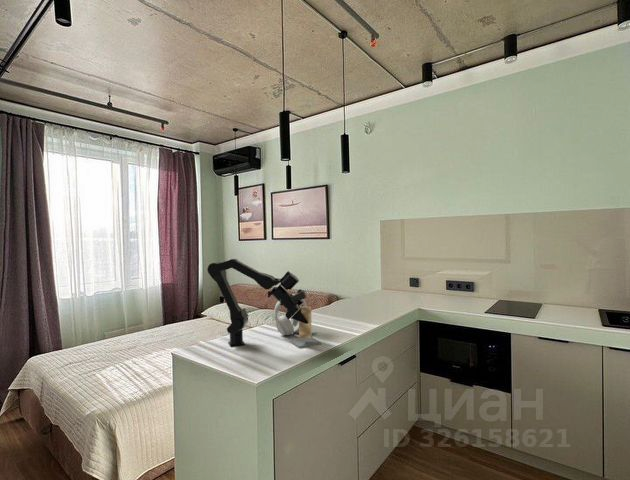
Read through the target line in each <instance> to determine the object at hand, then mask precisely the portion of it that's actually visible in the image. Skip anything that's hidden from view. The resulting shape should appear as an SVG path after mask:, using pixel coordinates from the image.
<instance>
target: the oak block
mask: <svg viewBox="0 0 630 480" xmlns="http://www.w3.org/2000/svg"><path fill="white" fill-rule="evenodd" d="M300 308H301V313H302V314H303V315H304V317H305V318H306V319H307V321H308V323H307V324H305V323H303V322H300V321H299V333H298V337H299V338H311V337H313V336H312V333H313V332H312V331H313V329H312V328H313V327H312V326H313V325H312V306H307V307H300ZM300 308H299V309H300Z"/></svg>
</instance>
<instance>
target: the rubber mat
mask: <svg viewBox="0 0 630 480" xmlns="http://www.w3.org/2000/svg"><path fill="white" fill-rule="evenodd" d="M289 343H291V344H292V345H294V346H295V347H297V348H298V349H301V348H307V347H308V348H309V347H314V346H318V344H320V345H322V341H320V340H318V339H316V338H314V337H313V336H311V338H291V339H289Z"/></svg>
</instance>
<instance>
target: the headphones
mask: <svg viewBox="0 0 630 480" xmlns="http://www.w3.org/2000/svg"><path fill="white" fill-rule="evenodd" d="M291 294H292V295H295V294H296V293H291ZM302 300H303V301H304V302H303V303H302V304H304V306H303V307H308V306H307V302H306V301H305V299H302ZM280 304H281V303H280V302H279V301H278V300H277V302H276V304H275V306H274V311H273V317H274V321H275V327H276V330H277V331H278V333H279V334H280V335H282V336H285V335H286V336H290V335H292V334H293V333H294V334H299V321H297V320H294V319H291V318H290V319H288V318H287V317H286V315H285V314H283V315H279V316H278V313H279V312H280V311H281V308H282V307H283V305H282V306H281V305H280ZM302 304H301V306H302Z"/></svg>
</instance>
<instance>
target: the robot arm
mask: <svg viewBox="0 0 630 480" xmlns="http://www.w3.org/2000/svg"><path fill="white" fill-rule="evenodd" d="M230 269H233V270H235V271H237V272H239V273H241V274H243V275H244V276H246V277H248V278H251V279H252V280H254V282H256V284H257V285H259V286H260V287H261V288H262V289H264V290H268V291H267V298H270V297H271V296H273V297H274V299H276V301H277V302H278V301H279V302H280V303H281V304H280V305H281V306H282V307H284V308H285V309H286V312H285V316H286V317H287V318H288V319H289V320H291V319H294V320H297V321H300V322H303V323H305V324H307V323H308V321H307V319H306V318H305V317H304V315H303V314H302V313H301V308H300V307H303V306H304V304H302V303H303V302H304V301H303V300H302V299H304V300H305V299H306V298H307V297H308V295H307V293H306V291H305V290H303V289H301V288H300V289H298V290H297V293H294V294H295V295H292V294H293V293H289V292H288V290H289V291H291V290H292V289H293V288H294V287H295V286H297V284H298V283H299V282H300V279H299V278H298V277H297V276H296V275H295V274H293V273H291V272H290V271H289V270H287V272H285V274H284V275H283V276H282V277H281V278H277V277H275V276H273V275H271V274H268V273H264V272H261V271H258V270H256V269H255V268H253V267H251V266H249V265H247V264H245V263H243V262H241V261H240V260H238V259H237V258H230V259H229V260H225V261H222V262H220V261H216V262H211V263H210V264H209V265H208V266H207V273H208V275H209V276H210V278H211V279H212V280H214V281H215V283H216V284H217V286H218V288H219V291H220V292H221V295H222V297H223V299H224V301H225V304H226V306H227V307H228V310H229V318H230V321H231V322H230V323H231V324H229V325H228V327H226V331H227V333H228V334H229V341H228V342H227V343H228V345H229V346H230V347H238V346H243V345H244V346H245V345H246V343H245V342H244V338H243V337H244V332H243V329H244V328H245V326H246V325H247V324H248V322H249V314H248V312H247V309H246V307H243V308H242V307H241V306H240V305H239V303H238V301H237V298H236V297H235V294H234V292H233V290H232V288H231V285H230V283H229V282H228V279H227V271H226V270H230ZM277 285H278V286H277ZM271 288H272V289H271ZM270 289H271V290H270ZM301 304H302V305H301ZM299 308H300V309H299Z"/></svg>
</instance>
